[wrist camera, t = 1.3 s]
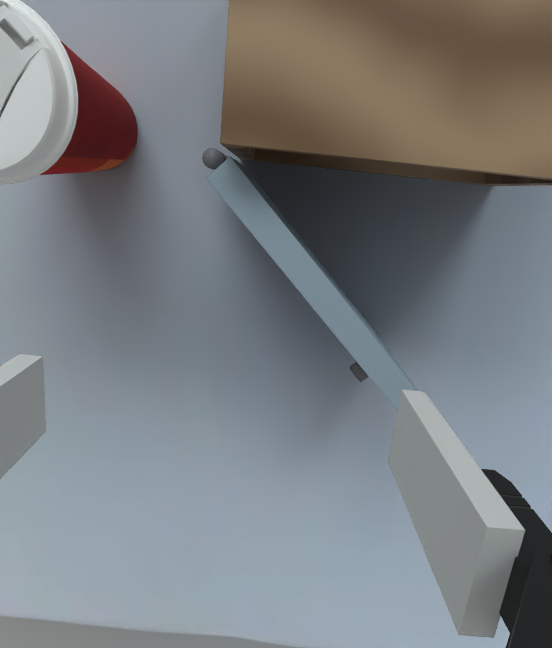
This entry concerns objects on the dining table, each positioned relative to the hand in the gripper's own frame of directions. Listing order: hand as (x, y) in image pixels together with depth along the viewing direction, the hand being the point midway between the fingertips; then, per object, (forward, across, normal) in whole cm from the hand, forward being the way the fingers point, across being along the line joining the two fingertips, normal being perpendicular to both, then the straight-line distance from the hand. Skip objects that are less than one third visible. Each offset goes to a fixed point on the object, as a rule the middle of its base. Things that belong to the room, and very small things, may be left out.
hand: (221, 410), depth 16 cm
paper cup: (+21, -12, +10) cm, 26 cm away
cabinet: (+20, +7, +15) cm, 26 cm away
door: (+19, +3, +2) cm, 20 cm away
